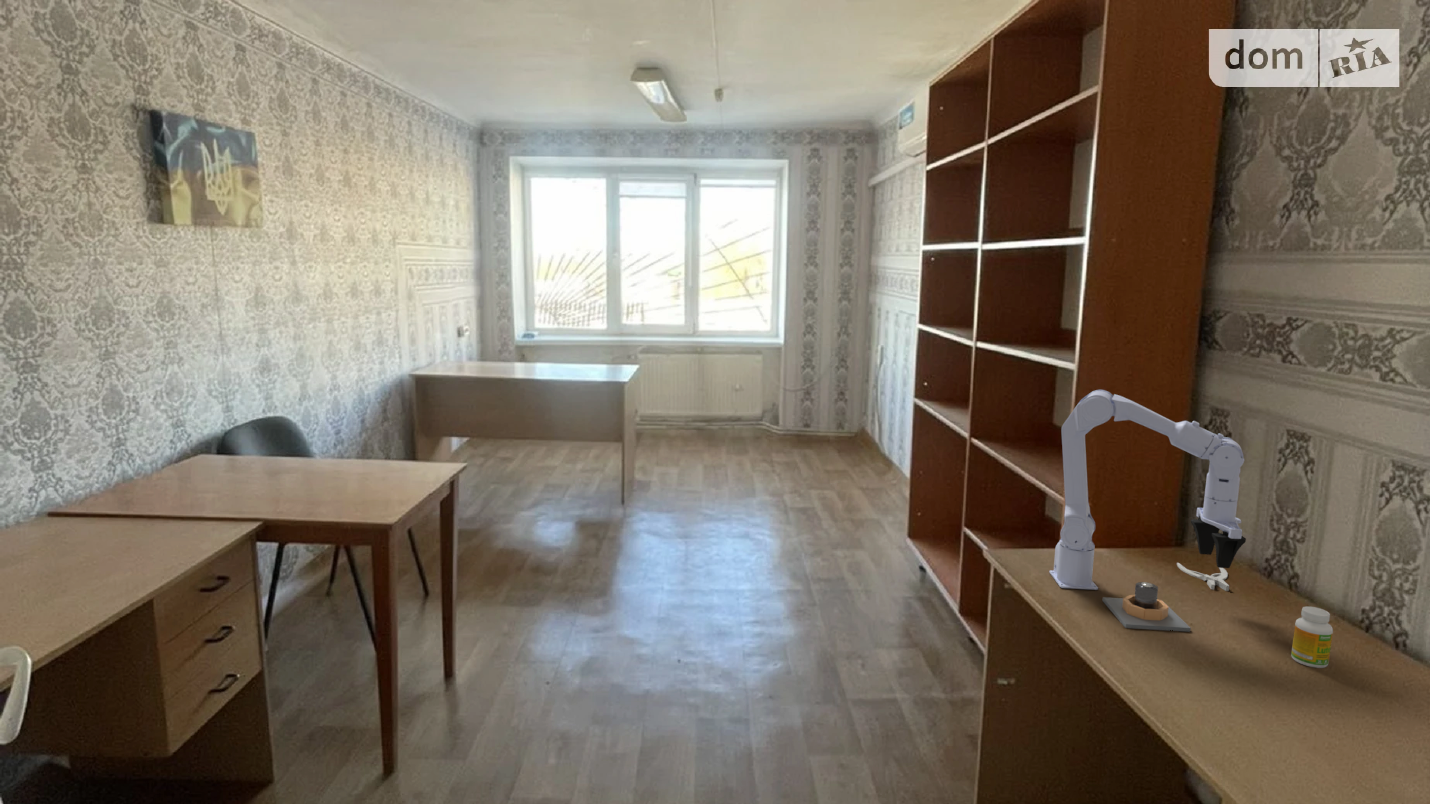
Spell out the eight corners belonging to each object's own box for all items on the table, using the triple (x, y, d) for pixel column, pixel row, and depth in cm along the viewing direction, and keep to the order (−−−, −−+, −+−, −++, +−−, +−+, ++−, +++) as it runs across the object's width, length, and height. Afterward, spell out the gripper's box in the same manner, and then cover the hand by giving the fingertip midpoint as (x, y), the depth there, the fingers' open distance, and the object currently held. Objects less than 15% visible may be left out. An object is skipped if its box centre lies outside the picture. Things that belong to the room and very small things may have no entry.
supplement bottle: (1318, 671, 136) (1325, 619, 135) (1284, 658, 141) (1291, 608, 139) (1334, 664, 139) (1341, 613, 137) (1300, 651, 143) (1307, 602, 142)
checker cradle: (1102, 600, 166) (1103, 588, 165) (1162, 604, 164) (1163, 591, 163) (1125, 627, 153) (1126, 614, 152) (1190, 631, 151) (1191, 618, 151)
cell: (1131, 606, 161) (1132, 579, 159) (1152, 608, 160) (1154, 580, 159) (1137, 615, 157) (1139, 587, 156) (1159, 616, 156) (1161, 588, 155)
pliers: (1222, 563, 184) (1246, 587, 169) (1222, 569, 184) (1245, 594, 170) (1176, 559, 186) (1195, 582, 172) (1175, 565, 187) (1194, 589, 172)
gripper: (1261, 508, 151) (1253, 574, 153) (1224, 488, 165) (1217, 549, 167) (1222, 507, 152) (1215, 572, 154) (1188, 487, 166) (1182, 547, 168)
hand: (1214, 560), depth 160 cm, fingers open, 7 cm apart
